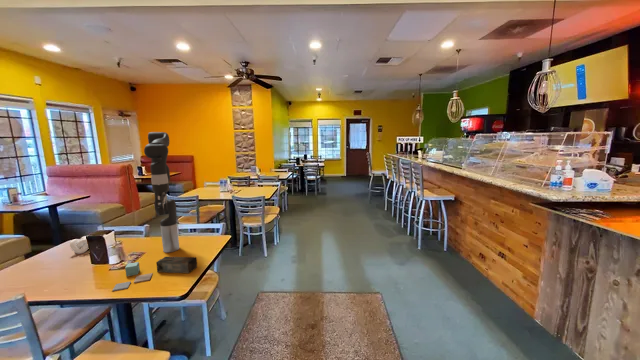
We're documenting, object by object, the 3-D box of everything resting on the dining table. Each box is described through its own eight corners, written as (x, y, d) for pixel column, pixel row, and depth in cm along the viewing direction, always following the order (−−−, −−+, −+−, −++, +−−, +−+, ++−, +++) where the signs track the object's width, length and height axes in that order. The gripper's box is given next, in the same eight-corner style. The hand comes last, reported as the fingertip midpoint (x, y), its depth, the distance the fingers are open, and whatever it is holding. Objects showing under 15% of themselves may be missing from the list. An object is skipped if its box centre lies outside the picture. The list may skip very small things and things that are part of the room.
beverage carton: (166, 265, 153) (165, 254, 152) (198, 267, 151) (197, 256, 150) (156, 272, 145) (155, 261, 144) (189, 274, 143) (188, 262, 142)
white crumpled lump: (80, 256, 168) (78, 242, 167) (64, 255, 170) (62, 241, 169) (98, 248, 179) (96, 235, 178) (83, 248, 181) (80, 235, 180)
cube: (129, 272, 146) (127, 263, 146) (139, 270, 148) (138, 261, 147) (126, 276, 142) (125, 267, 141) (137, 274, 143) (136, 265, 143)
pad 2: (137, 276, 141) (137, 275, 141) (152, 274, 143) (152, 273, 143) (133, 283, 134) (133, 282, 134) (149, 280, 137) (149, 279, 137)
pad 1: (116, 285, 133) (116, 283, 133) (130, 282, 135) (130, 281, 135) (112, 291, 128) (112, 290, 128) (127, 288, 130) (127, 287, 130)
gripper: (154, 181, 146) (158, 210, 149) (148, 185, 133) (152, 217, 136) (170, 180, 149) (173, 208, 151) (165, 184, 136) (169, 215, 138)
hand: (163, 212), depth 144 cm, fingers open, 8 cm apart
